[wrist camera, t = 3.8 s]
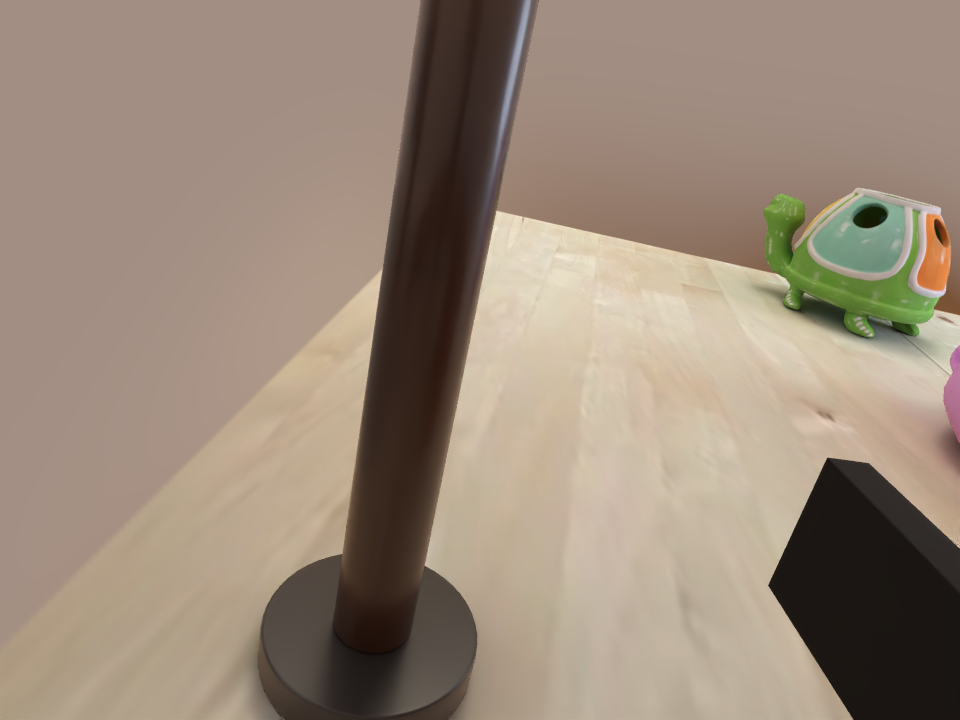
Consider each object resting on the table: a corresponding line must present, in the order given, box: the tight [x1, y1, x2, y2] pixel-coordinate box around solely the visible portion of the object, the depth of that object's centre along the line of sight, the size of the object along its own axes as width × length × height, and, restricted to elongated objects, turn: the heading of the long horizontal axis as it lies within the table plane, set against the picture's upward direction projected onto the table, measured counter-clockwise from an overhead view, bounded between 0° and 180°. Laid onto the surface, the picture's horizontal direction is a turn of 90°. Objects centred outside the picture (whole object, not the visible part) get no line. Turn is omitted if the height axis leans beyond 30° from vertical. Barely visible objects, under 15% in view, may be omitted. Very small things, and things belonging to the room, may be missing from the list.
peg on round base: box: [258, 0, 539, 720], centre depth 16 cm, size 6×6×18 cm
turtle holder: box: [764, 188, 951, 338], centre depth 67 cm, size 12×18×12 cm
